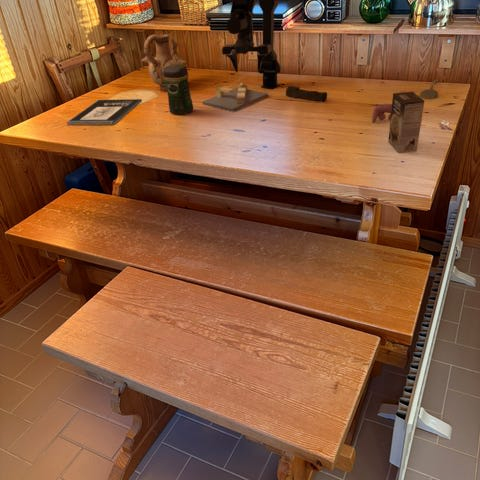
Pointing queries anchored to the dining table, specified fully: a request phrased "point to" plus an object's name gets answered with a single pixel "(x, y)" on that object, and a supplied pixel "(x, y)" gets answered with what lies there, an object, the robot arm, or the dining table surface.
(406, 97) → the coffee box
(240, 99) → the birch latch bar
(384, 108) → the toy animal
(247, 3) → the robot arm
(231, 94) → the keeper baseplate
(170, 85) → the coffee jar
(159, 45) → the ceramic vessel
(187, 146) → the dining table surface
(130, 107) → the sketchbook
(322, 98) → the hand tool
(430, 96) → the soupspoon
